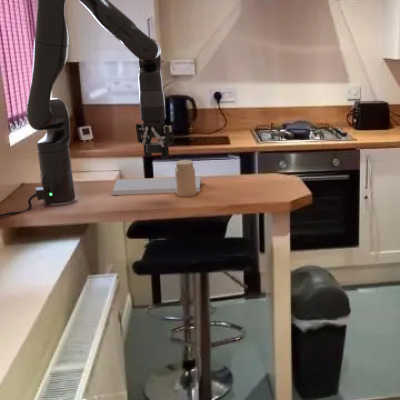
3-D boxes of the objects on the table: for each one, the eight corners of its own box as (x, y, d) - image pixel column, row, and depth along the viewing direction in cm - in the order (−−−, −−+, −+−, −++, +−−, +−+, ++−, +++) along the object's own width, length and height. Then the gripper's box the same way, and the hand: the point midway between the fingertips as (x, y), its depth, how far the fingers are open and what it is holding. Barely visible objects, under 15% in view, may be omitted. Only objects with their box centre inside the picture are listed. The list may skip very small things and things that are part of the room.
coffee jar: (180, 198, 197) (178, 165, 194) (174, 192, 203) (171, 161, 199) (199, 195, 201) (196, 162, 197) (192, 189, 206) (190, 158, 202)
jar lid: (150, 149, 192) (149, 142, 191) (170, 149, 192) (170, 142, 191) (143, 153, 185) (142, 145, 185) (165, 153, 185) (164, 145, 184)
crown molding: (112, 195, 201) (111, 185, 200) (119, 186, 213) (118, 177, 212) (200, 192, 205) (199, 181, 204) (202, 183, 217) (201, 174, 216)
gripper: (126, 104, 185) (131, 157, 189) (160, 106, 178) (165, 161, 182) (144, 102, 191) (149, 153, 195) (178, 104, 184) (182, 157, 188)
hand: (156, 157), depth 188 cm, fingers closed on jar lid, 6 cm apart
